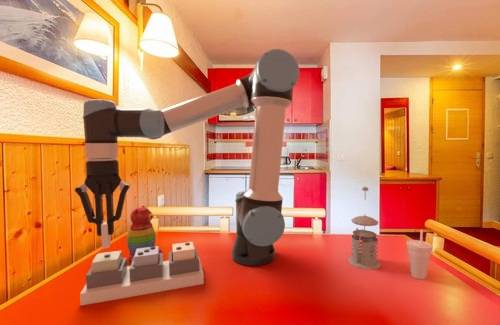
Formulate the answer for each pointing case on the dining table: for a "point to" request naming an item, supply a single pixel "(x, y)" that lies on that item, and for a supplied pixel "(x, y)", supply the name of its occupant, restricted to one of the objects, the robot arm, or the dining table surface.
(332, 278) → the dining table surface
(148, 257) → the button three dot
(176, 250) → the button two dot
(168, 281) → the button panel
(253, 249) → the robot arm
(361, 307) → the dining table surface
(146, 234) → the stacking bear
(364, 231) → the french press
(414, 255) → the smoothie
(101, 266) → the button one dot
